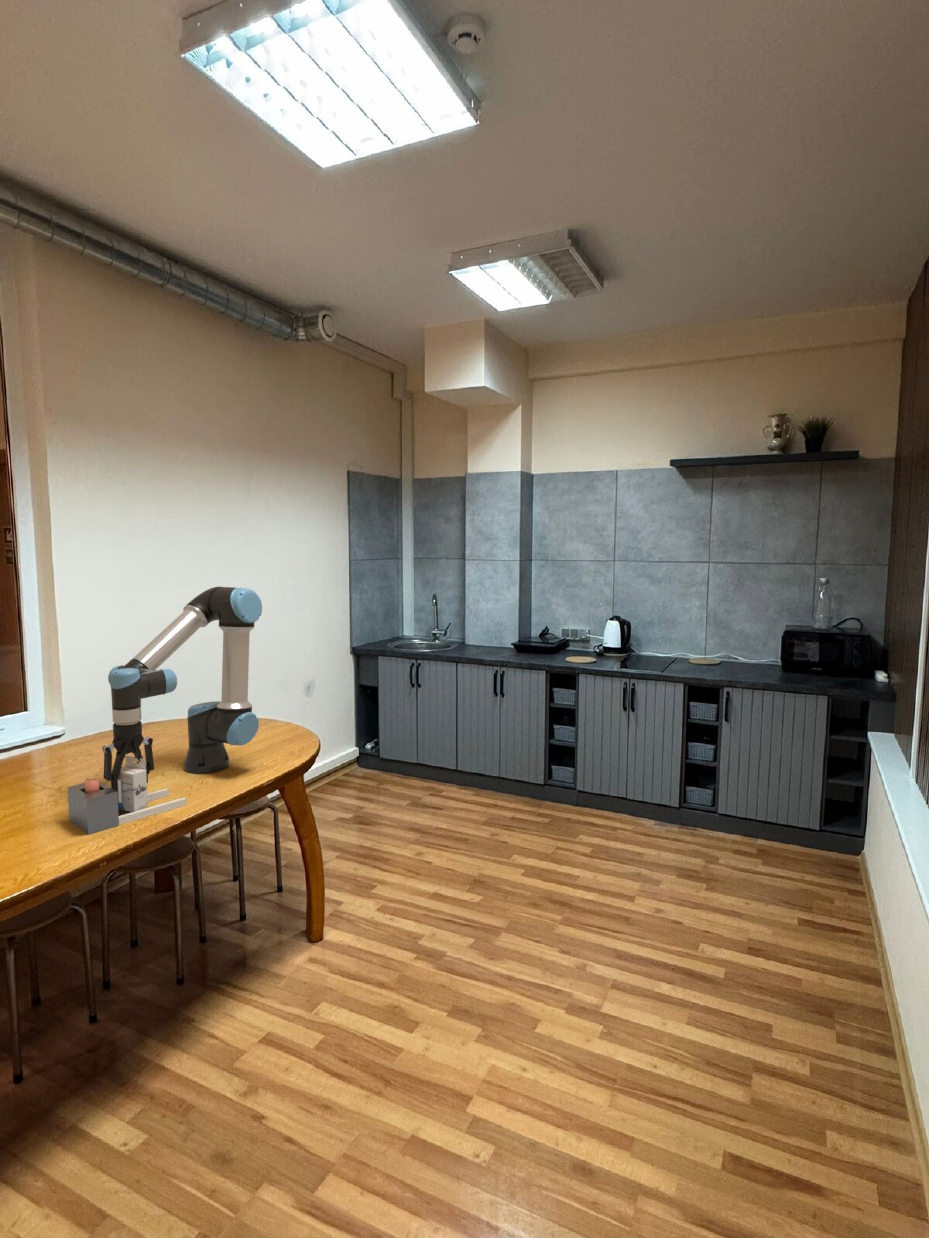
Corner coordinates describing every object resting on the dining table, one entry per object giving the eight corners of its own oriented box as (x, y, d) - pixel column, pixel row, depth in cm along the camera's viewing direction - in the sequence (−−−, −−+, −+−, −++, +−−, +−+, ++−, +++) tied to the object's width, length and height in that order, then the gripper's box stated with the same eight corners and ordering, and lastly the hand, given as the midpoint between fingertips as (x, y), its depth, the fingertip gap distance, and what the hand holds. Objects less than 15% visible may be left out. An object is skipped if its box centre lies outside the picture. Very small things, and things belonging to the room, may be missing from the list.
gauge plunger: (96, 794, 191) (96, 777, 191) (102, 797, 189) (101, 780, 189) (83, 797, 189) (82, 780, 188) (88, 801, 186) (87, 783, 186)
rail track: (166, 794, 212) (166, 788, 212) (186, 804, 204) (186, 798, 203) (99, 812, 197) (99, 806, 197) (118, 825, 189) (117, 818, 188)
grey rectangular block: (99, 812, 197) (97, 779, 196) (118, 825, 188) (117, 791, 187) (69, 820, 191) (67, 786, 190) (88, 834, 182) (86, 799, 181)
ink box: (113, 808, 197) (111, 759, 195) (127, 802, 201) (125, 755, 200) (134, 813, 193) (132, 763, 192) (148, 806, 198) (146, 758, 196)
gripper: (154, 713, 204) (157, 786, 207) (86, 725, 190) (90, 803, 192) (165, 717, 199) (168, 792, 202) (97, 730, 185) (101, 810, 187)
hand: (130, 797), depth 197 cm, fingers closed on ink box, 6 cm apart
